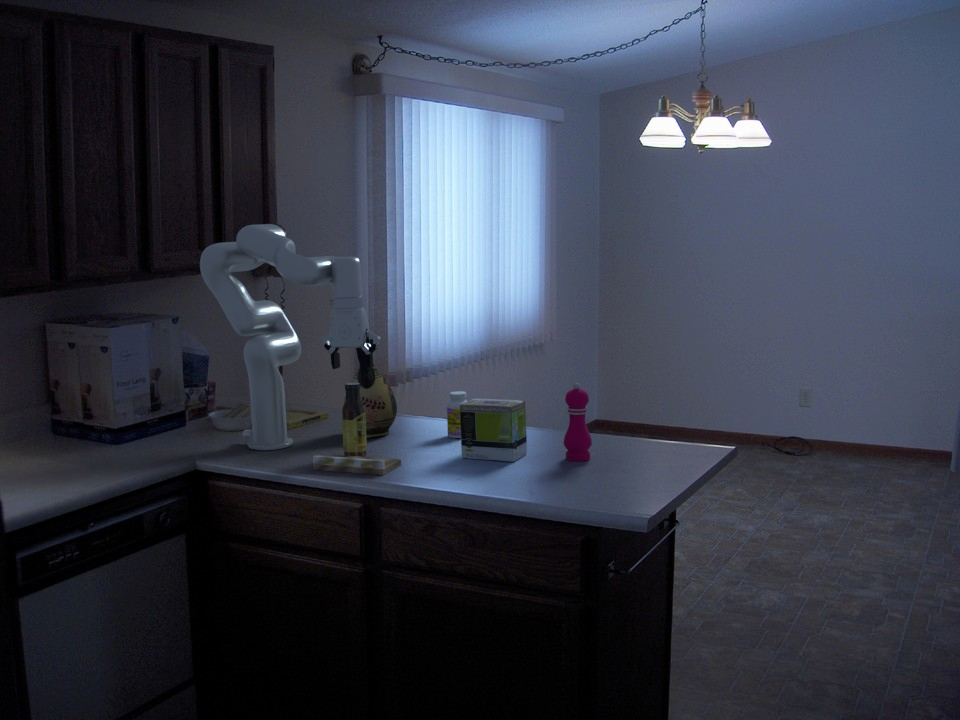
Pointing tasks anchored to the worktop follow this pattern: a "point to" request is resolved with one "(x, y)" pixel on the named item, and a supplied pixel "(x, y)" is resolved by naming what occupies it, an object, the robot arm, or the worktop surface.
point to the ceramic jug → (375, 398)
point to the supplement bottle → (455, 413)
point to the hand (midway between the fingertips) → (352, 368)
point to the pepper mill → (577, 426)
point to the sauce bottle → (354, 422)
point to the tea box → (493, 429)
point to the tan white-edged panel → (355, 464)
